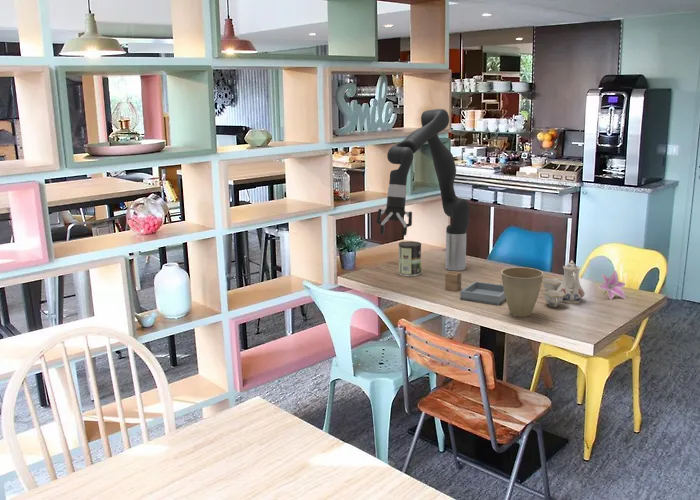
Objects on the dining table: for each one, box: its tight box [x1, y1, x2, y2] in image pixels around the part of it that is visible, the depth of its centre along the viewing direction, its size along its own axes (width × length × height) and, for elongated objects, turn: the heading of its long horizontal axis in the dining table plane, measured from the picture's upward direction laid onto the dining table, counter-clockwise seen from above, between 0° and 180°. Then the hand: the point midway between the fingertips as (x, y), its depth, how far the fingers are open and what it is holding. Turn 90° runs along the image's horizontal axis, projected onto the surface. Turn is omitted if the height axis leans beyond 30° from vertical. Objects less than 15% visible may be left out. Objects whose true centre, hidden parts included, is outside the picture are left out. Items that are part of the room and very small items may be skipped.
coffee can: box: [398, 240, 422, 277], centre depth 301 cm, size 10×10×14 cm
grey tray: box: [459, 280, 506, 306], centre depth 265 cm, size 16×16×4 cm
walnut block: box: [444, 270, 462, 293], centre depth 276 cm, size 5×5×7 cm
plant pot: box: [500, 266, 544, 318], centre depth 243 cm, size 15×15×16 cm
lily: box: [598, 270, 627, 301], centre depth 263 cm, size 12×12×10 cm
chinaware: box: [541, 259, 586, 308], centre depth 259 cm, size 28×17×17 cm, turn 171°
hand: (393, 235), depth 271 cm, fingers open, 8 cm apart
